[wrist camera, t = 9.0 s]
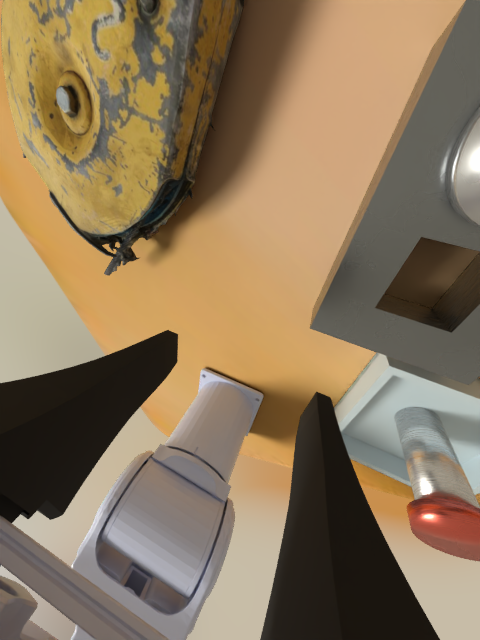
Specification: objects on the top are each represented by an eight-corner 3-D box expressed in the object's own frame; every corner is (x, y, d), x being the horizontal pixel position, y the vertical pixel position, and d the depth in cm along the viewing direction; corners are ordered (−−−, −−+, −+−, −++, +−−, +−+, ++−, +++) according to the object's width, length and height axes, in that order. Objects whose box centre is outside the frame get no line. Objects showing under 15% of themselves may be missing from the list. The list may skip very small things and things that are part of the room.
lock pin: (427, 442, 19) (472, 566, 13) (376, 422, 20) (395, 529, 14) (464, 416, 17) (541, 554, 11) (404, 394, 18) (443, 510, 11)
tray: (439, 475, 22) (450, 504, 20) (321, 423, 24) (320, 445, 22) (565, 409, 15) (601, 444, 13) (382, 344, 17) (389, 365, 15)
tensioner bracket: (447, 355, 16) (476, 398, 12) (313, 309, 17) (308, 336, 14) (741, 76, 8) (1038, -6, 4) (432, 47, 9) (483, -25, 6)
